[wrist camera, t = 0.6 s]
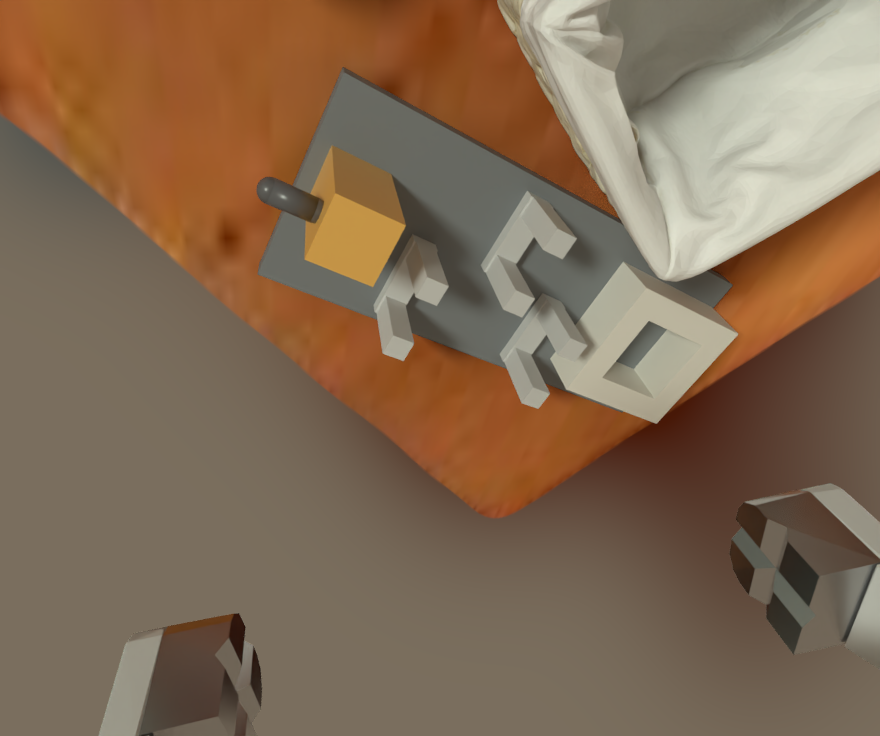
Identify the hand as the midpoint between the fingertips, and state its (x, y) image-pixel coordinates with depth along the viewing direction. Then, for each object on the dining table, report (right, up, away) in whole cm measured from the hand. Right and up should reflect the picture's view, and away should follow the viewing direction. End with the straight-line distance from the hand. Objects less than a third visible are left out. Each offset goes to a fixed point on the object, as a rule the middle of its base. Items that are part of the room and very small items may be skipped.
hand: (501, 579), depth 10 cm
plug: (-8, +15, +28) cm, 33 cm away
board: (+4, +11, +36) cm, 38 cm away
